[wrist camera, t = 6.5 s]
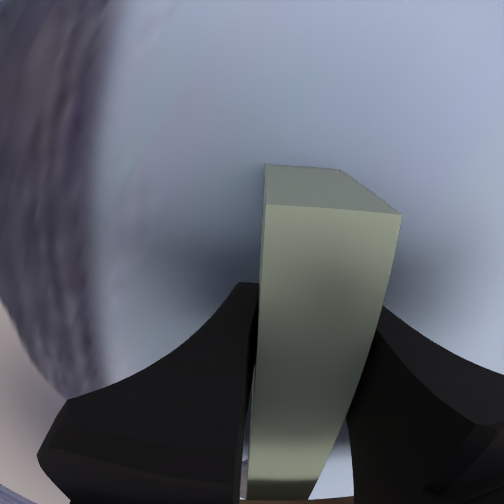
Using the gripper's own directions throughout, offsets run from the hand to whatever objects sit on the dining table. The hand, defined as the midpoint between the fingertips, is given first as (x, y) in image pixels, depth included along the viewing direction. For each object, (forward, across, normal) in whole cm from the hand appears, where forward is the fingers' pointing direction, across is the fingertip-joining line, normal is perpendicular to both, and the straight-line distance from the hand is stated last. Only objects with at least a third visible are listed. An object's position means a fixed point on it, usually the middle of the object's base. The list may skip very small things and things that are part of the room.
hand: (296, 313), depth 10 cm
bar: (+2, 0, +4) cm, 4 cm away
